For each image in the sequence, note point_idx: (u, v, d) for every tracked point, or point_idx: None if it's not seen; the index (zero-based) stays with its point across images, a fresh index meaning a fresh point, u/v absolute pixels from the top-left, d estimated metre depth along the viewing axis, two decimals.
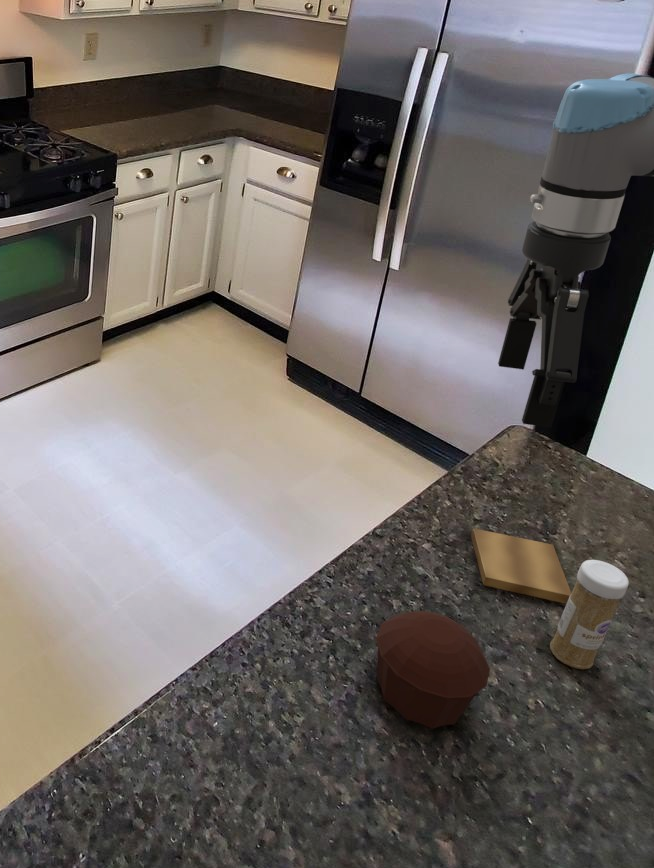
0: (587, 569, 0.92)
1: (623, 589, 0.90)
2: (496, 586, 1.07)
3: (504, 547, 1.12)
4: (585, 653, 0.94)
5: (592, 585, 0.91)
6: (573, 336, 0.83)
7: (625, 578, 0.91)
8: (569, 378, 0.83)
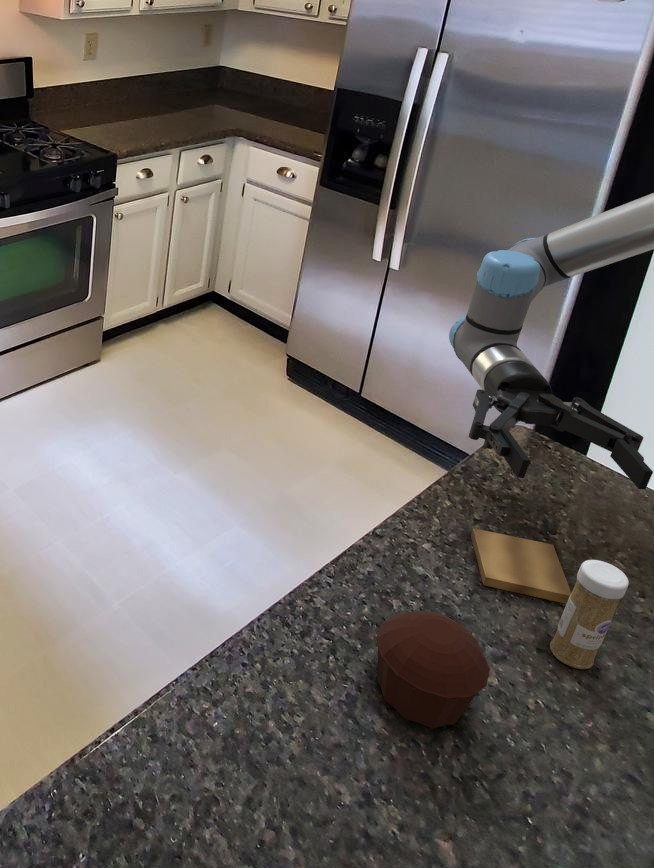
0: (587, 569, 0.92)
1: (623, 589, 0.90)
2: (496, 586, 1.07)
3: (504, 547, 1.12)
4: (585, 653, 0.94)
5: (592, 585, 0.91)
6: None
7: (625, 578, 0.91)
8: (472, 425, 1.05)
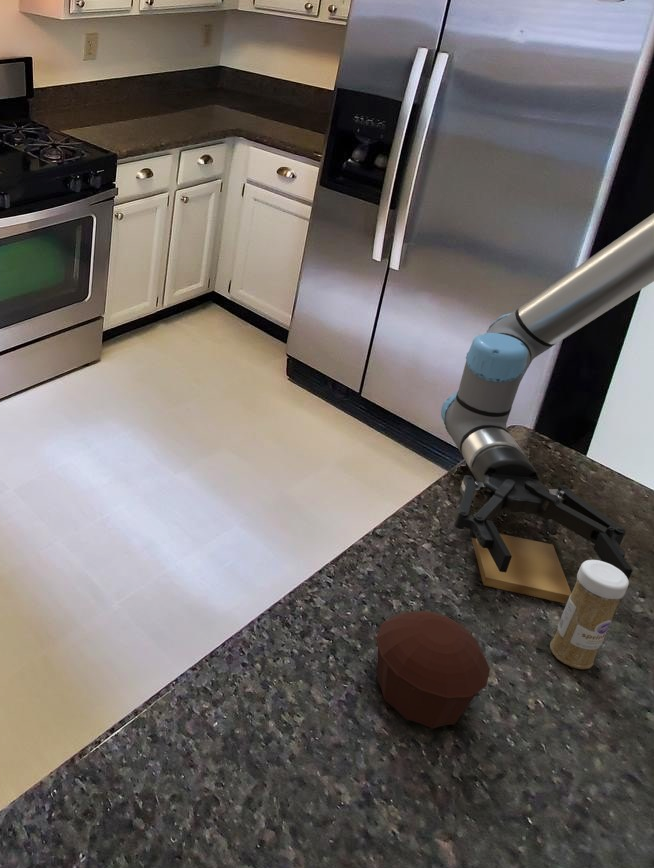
0: (587, 569, 0.92)
1: (623, 589, 0.90)
2: (496, 586, 1.07)
3: None
4: (585, 653, 0.94)
5: (592, 585, 0.91)
6: None
7: (625, 578, 0.91)
8: (457, 515, 1.08)
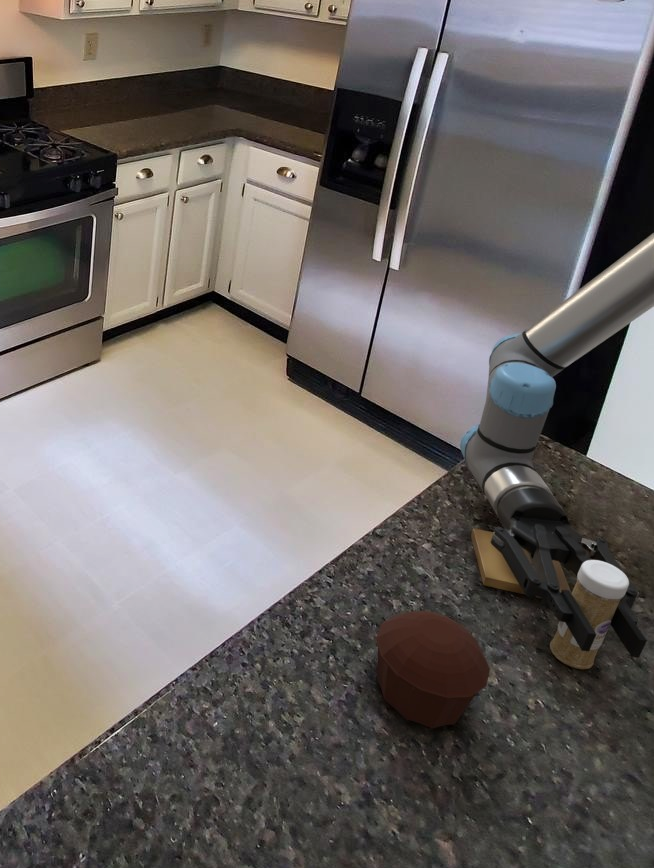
0: (587, 569, 0.92)
1: (624, 589, 0.90)
2: (496, 586, 1.07)
3: None
4: (585, 653, 0.94)
5: (592, 585, 0.91)
6: (513, 558, 1.01)
7: (625, 578, 0.91)
8: (530, 584, 0.97)
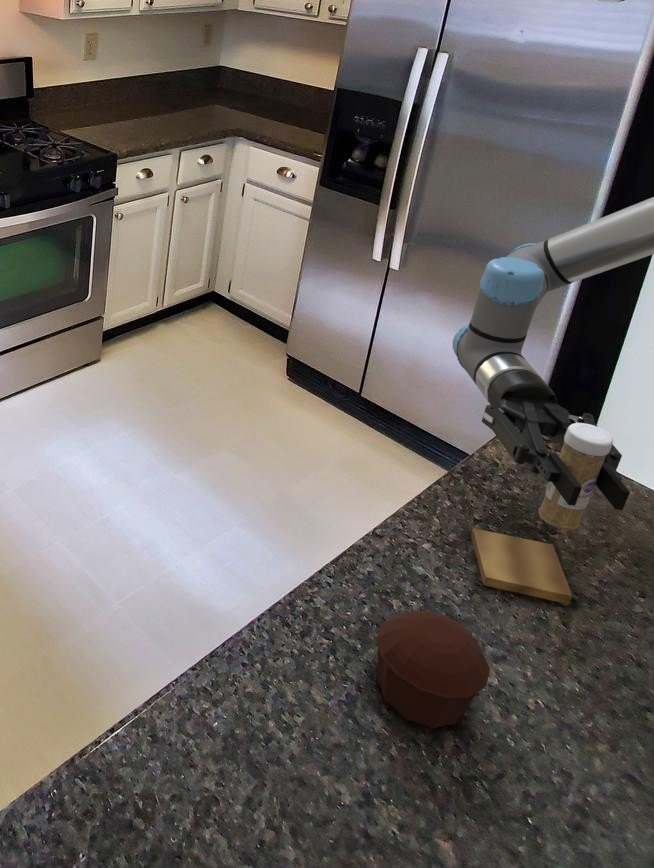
0: (573, 429, 0.96)
1: (608, 445, 0.94)
2: (496, 586, 1.07)
3: (504, 547, 1.12)
4: (572, 513, 0.98)
5: (578, 443, 0.95)
6: (503, 430, 1.05)
7: (610, 436, 0.95)
8: (519, 450, 1.01)
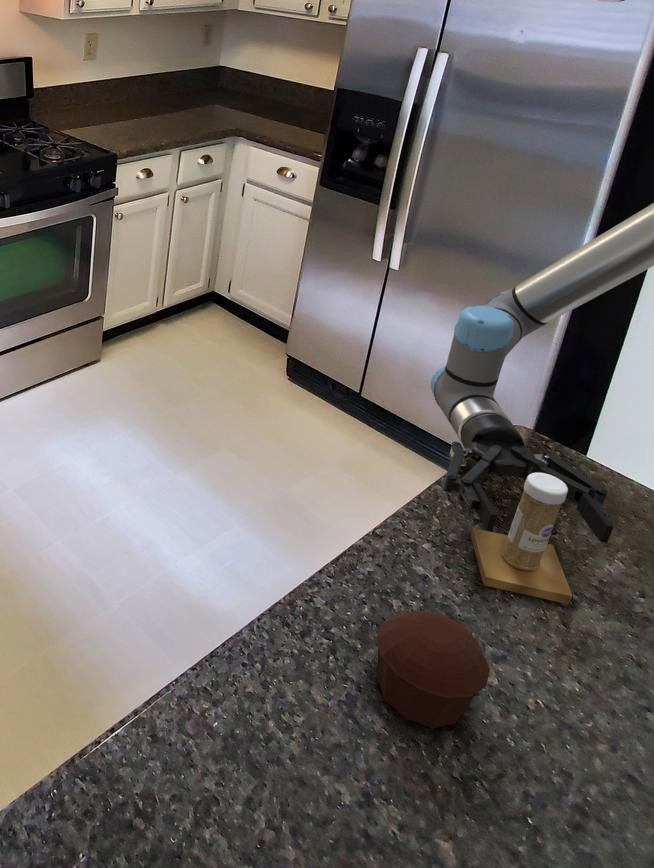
0: (532, 479, 1.04)
1: (563, 495, 1.02)
2: (496, 586, 1.07)
3: None
4: (531, 556, 1.06)
5: (535, 492, 1.03)
6: None
7: (565, 486, 1.03)
8: (445, 478, 1.11)
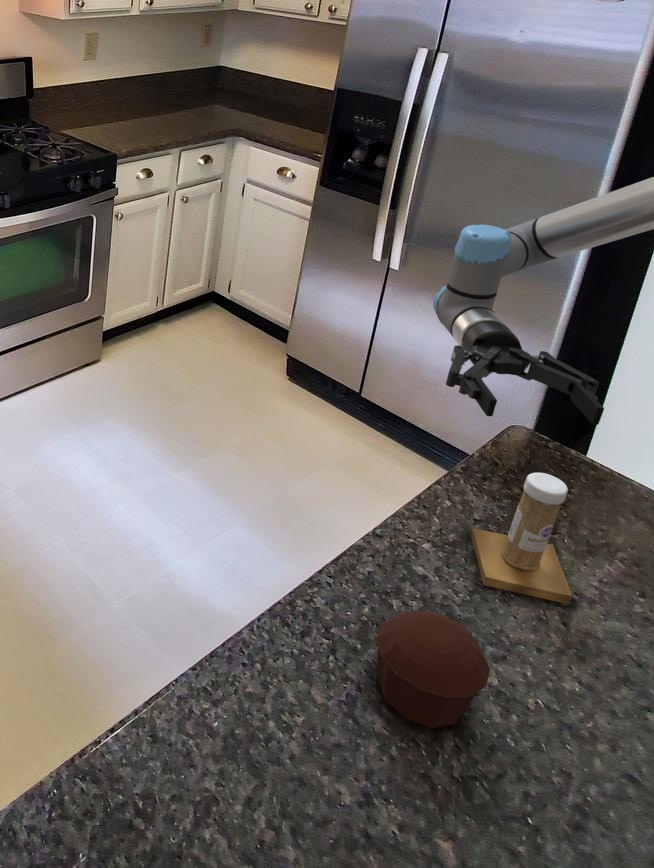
0: (532, 479, 1.04)
1: (563, 495, 1.02)
2: (496, 586, 1.07)
3: None
4: (531, 556, 1.06)
5: (535, 492, 1.03)
6: None
7: (564, 486, 1.03)
8: (448, 374, 1.20)
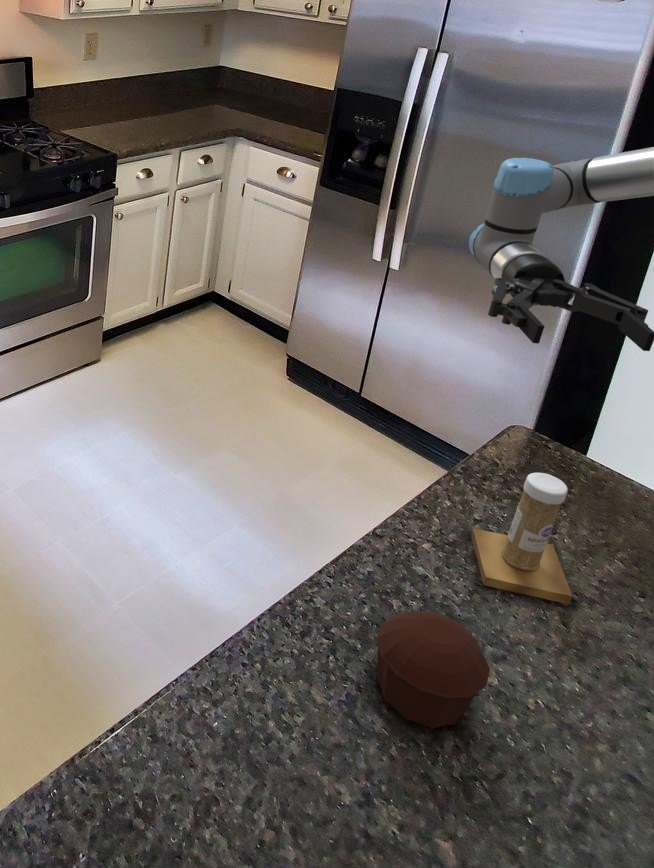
0: (531, 479, 1.04)
1: (562, 495, 1.02)
2: (496, 586, 1.07)
3: None
4: (531, 556, 1.06)
5: (535, 492, 1.03)
6: None
7: (564, 486, 1.03)
8: (491, 303, 1.16)
